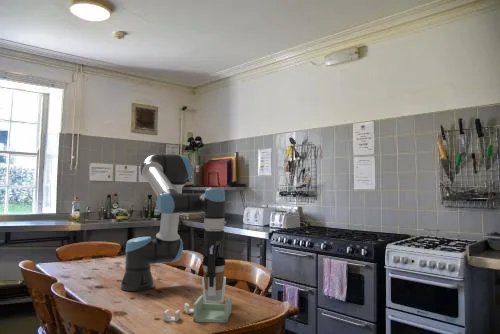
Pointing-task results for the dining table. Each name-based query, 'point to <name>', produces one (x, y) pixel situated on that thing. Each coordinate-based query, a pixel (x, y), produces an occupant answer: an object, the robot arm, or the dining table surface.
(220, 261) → the coffee cup
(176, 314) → the clip
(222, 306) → the holder
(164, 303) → the dining table surface
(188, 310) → the clip
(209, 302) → the cup
